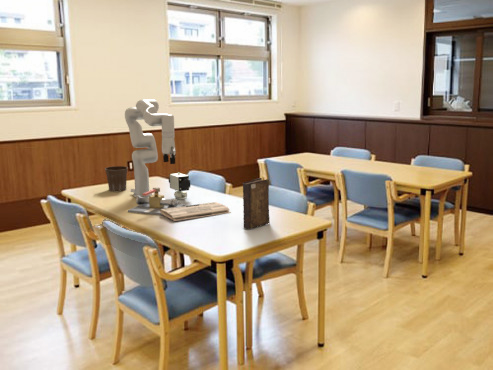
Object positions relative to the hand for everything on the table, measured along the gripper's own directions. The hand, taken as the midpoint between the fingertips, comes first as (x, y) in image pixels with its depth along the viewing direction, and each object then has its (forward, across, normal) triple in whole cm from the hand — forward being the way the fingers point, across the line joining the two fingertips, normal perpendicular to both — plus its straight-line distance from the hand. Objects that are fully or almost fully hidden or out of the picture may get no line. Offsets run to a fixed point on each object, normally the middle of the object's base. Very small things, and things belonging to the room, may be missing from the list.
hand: (169, 162), depth 297 cm
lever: (+16, +5, -14) cm, 22 cm away
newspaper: (+27, +24, +4) cm, 37 cm away
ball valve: (+28, -17, +14) cm, 35 cm away
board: (+27, +1, -10) cm, 29 cm away
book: (+28, +64, +19) cm, 73 cm away
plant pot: (+27, -68, -11) cm, 74 cm away
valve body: (+26, +1, -10) cm, 28 cm away
